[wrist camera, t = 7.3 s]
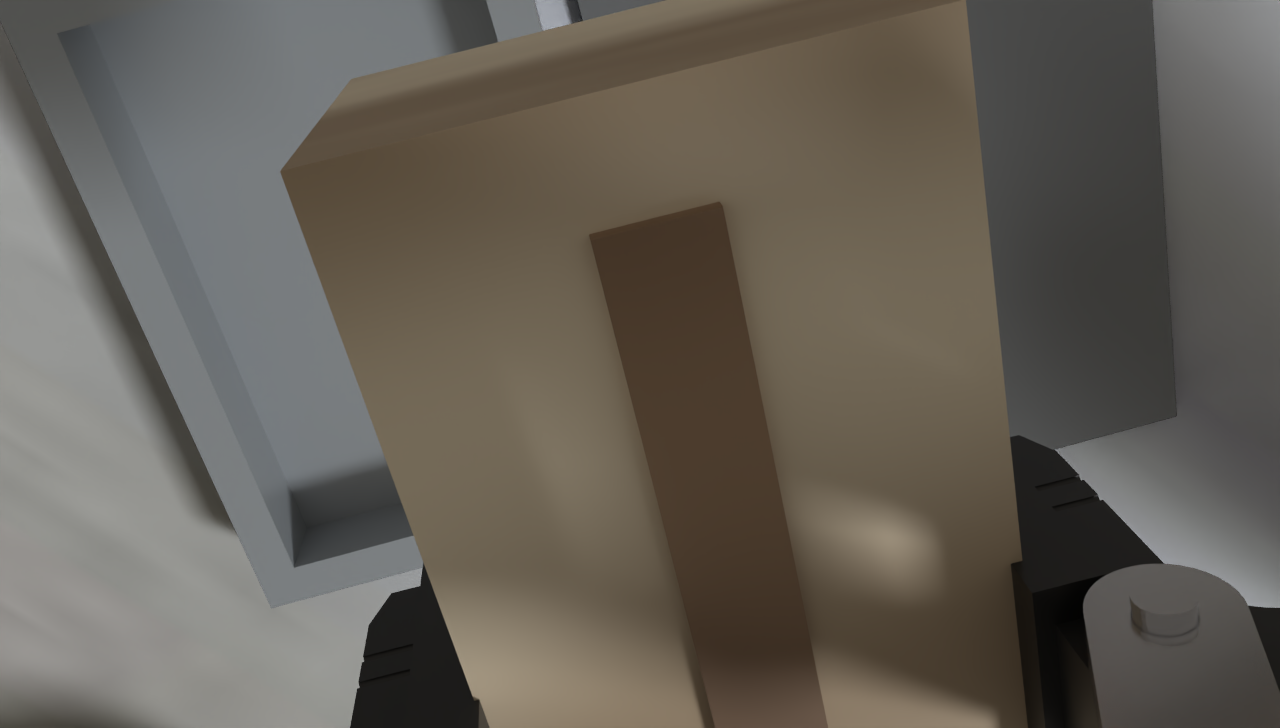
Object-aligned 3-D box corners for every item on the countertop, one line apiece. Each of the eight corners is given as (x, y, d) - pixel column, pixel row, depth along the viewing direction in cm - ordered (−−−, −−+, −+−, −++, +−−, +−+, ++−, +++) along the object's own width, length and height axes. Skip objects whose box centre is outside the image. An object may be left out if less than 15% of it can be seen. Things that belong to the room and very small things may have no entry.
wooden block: (351, 79, 12) (276, 176, 8) (821, -40, 12) (974, 0, 8) (617, 890, 16) (650, 1191, 13) (948, 805, 17) (1079, 1081, 13)
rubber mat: (1169, 410, 34) (1176, 416, 33) (714, 533, 34) (717, 540, 33) (1128, -259, 26) (1136, -261, 26) (550, -102, 26) (551, -102, 26)
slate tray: (659, 455, 32) (670, 500, 30) (289, 555, 32) (271, 608, 30) (497, -136, 26) (495, -140, 24) (38, -12, 26) (-11, -2, 24)
